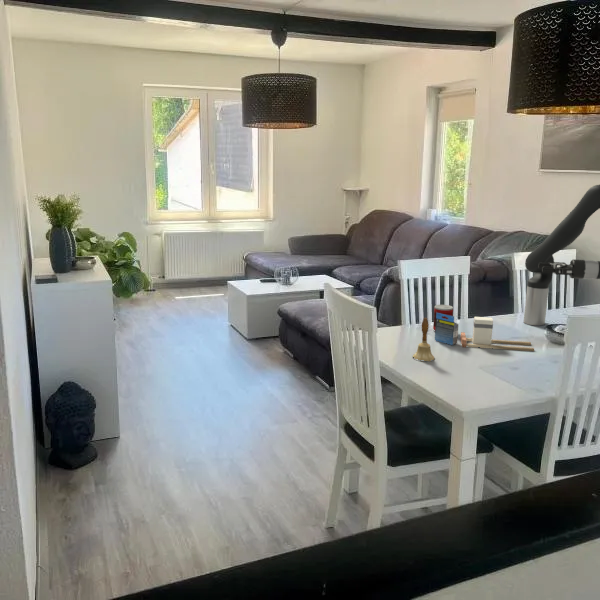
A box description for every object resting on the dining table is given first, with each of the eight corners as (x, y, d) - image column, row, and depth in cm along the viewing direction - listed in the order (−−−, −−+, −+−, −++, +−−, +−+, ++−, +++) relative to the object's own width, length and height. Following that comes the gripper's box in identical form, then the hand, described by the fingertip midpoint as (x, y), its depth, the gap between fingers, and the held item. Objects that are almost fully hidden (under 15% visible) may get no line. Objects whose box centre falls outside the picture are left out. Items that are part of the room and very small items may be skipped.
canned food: (455, 332, 262) (456, 308, 259) (439, 334, 259) (441, 309, 256) (444, 327, 269) (446, 303, 266) (429, 329, 266) (431, 305, 263)
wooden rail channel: (460, 339, 253) (460, 332, 252) (529, 343, 247) (530, 336, 247) (461, 347, 242) (462, 340, 242) (534, 352, 237) (535, 344, 236)
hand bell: (427, 363, 224) (429, 322, 220) (408, 358, 229) (410, 317, 225) (438, 358, 230) (441, 317, 226) (420, 352, 235) (422, 313, 231)
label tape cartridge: (457, 343, 247) (459, 314, 244) (452, 345, 244) (454, 316, 241) (439, 338, 253) (441, 310, 250) (434, 340, 250) (435, 312, 248)
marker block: (472, 342, 249) (474, 316, 246) (489, 343, 248) (492, 317, 245) (472, 345, 245) (474, 319, 242) (490, 346, 243) (493, 320, 240)
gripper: (580, 256, 243) (538, 255, 246) (589, 263, 229) (544, 261, 232) (578, 275, 245) (536, 273, 248) (587, 282, 231) (542, 280, 234)
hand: (540, 267), depth 240 cm, fingers open, 8 cm apart
